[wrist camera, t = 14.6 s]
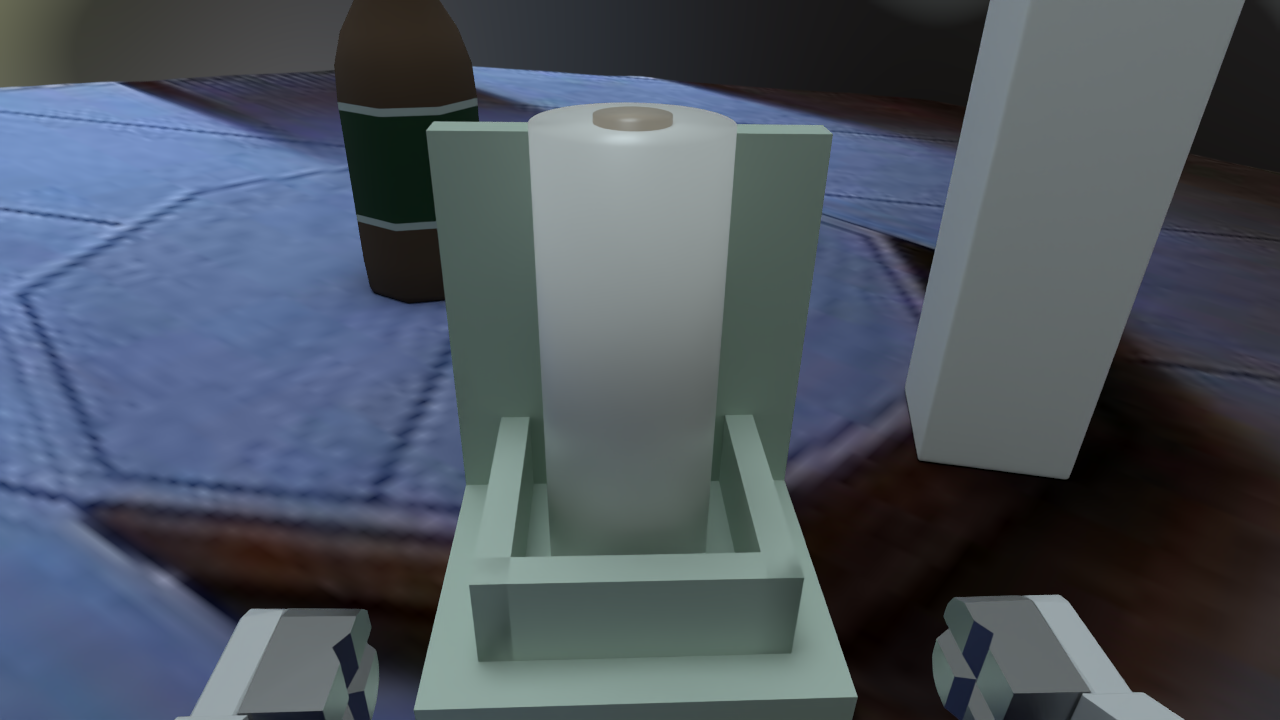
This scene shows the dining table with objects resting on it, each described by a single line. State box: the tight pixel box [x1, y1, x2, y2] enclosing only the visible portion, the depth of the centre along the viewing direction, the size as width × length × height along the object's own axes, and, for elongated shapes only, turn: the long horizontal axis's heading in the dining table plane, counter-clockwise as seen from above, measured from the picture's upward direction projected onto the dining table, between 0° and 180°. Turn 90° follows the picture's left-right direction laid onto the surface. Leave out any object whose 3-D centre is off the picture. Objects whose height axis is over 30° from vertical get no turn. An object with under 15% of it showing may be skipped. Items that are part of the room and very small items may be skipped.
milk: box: [905, 0, 1245, 479], centre depth 29 cm, size 6×6×22 cm
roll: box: [528, 103, 737, 556], centre depth 23 cm, size 5×5×14 cm
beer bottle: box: [334, 0, 479, 303], centre depth 42 cm, size 8×8×24 cm
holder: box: [414, 121, 857, 720], centre depth 23 cm, size 12×12×14 cm
